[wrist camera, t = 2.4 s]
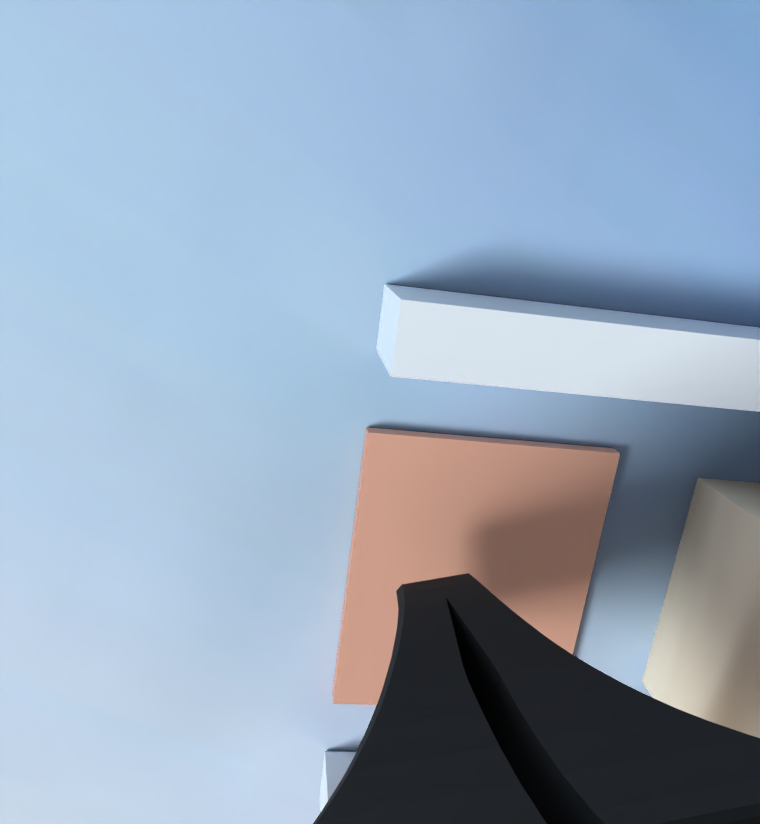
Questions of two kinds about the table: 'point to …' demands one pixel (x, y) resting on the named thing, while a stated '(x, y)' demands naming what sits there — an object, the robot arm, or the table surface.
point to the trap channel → (507, 462)
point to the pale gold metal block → (713, 611)
